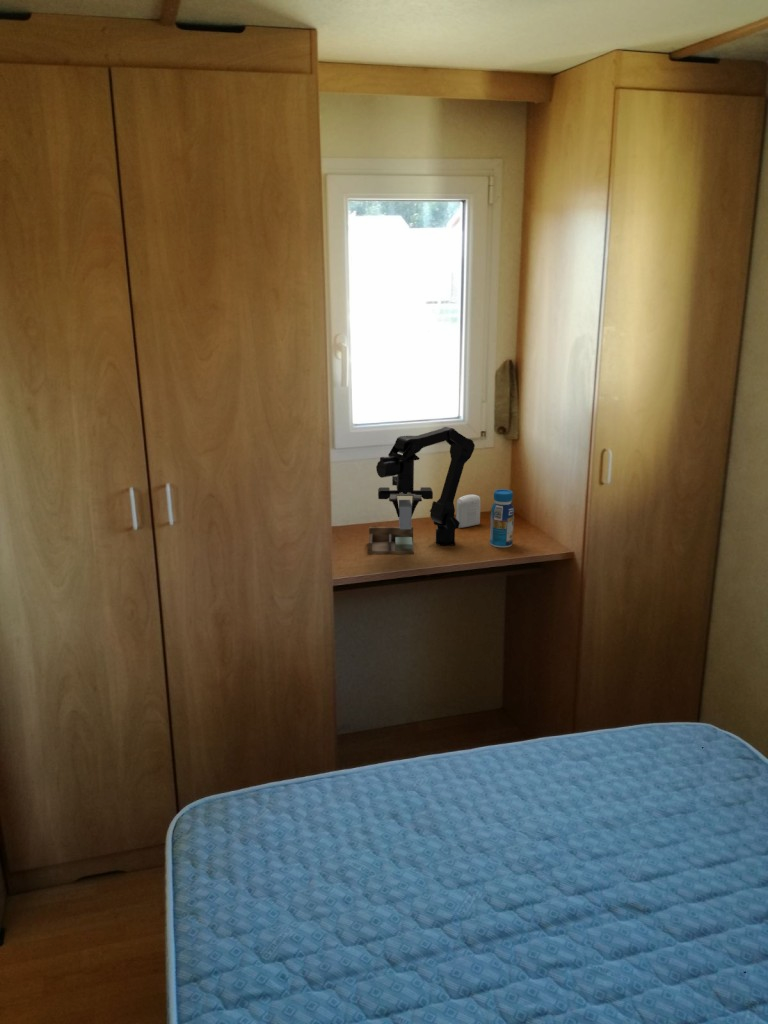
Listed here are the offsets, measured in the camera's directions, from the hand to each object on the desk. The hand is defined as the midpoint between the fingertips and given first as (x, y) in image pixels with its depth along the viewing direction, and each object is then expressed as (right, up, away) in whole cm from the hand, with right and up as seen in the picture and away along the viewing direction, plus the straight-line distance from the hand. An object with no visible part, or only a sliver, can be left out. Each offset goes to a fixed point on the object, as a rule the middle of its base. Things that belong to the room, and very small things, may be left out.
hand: (404, 516), depth 274 cm
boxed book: (0, -3, +1) cm, 3 cm away
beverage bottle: (+35, -10, +12) cm, 39 cm away
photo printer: (+26, -4, +33) cm, 42 cm away
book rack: (-5, -11, +8) cm, 15 cm away
